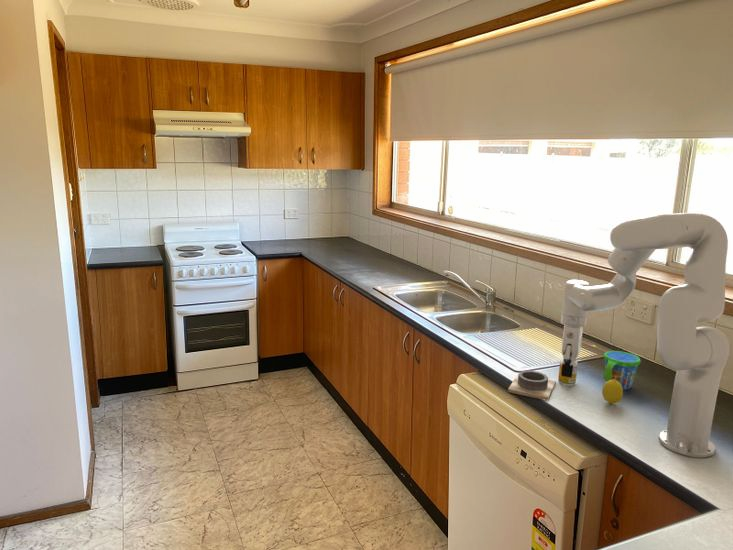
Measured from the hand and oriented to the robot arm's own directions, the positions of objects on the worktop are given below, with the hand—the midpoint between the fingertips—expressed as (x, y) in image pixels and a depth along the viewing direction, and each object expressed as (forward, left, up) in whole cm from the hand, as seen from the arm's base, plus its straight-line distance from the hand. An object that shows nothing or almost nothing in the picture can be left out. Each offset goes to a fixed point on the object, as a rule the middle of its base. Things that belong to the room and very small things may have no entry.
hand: (567, 372), depth 180 cm
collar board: (-10, +9, -4) cm, 14 cm away
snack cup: (+6, -15, -4) cm, 17 cm away
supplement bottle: (0, 0, -4) cm, 4 cm away
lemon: (-10, -14, -4) cm, 18 cm away
